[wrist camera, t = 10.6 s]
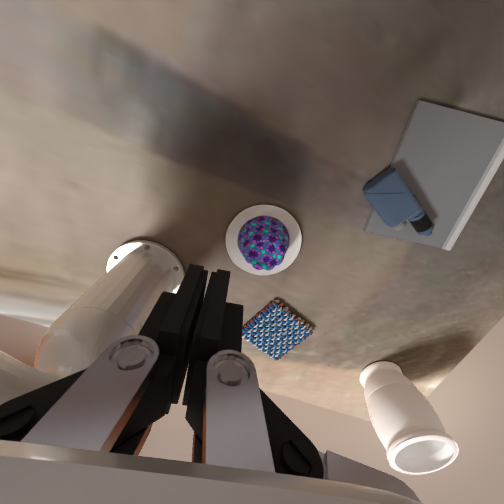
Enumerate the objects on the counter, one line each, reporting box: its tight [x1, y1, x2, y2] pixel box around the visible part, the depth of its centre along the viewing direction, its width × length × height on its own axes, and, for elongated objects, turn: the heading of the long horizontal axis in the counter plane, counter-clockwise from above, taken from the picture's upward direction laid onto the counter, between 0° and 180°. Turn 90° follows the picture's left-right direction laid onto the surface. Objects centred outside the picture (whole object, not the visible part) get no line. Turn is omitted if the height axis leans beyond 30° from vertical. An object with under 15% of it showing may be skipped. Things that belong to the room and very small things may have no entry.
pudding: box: [226, 205, 302, 275], centre depth 39 cm, size 12×12×5 cm
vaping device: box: [363, 167, 434, 236], centre depth 37 cm, size 3×5×12 cm
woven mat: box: [242, 300, 313, 360], centre depth 48 cm, size 10×11×2 cm
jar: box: [360, 361, 458, 474], centre depth 47 cm, size 11×10×15 cm
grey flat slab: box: [363, 100, 504, 251], centre depth 37 cm, size 18×14×1 cm
